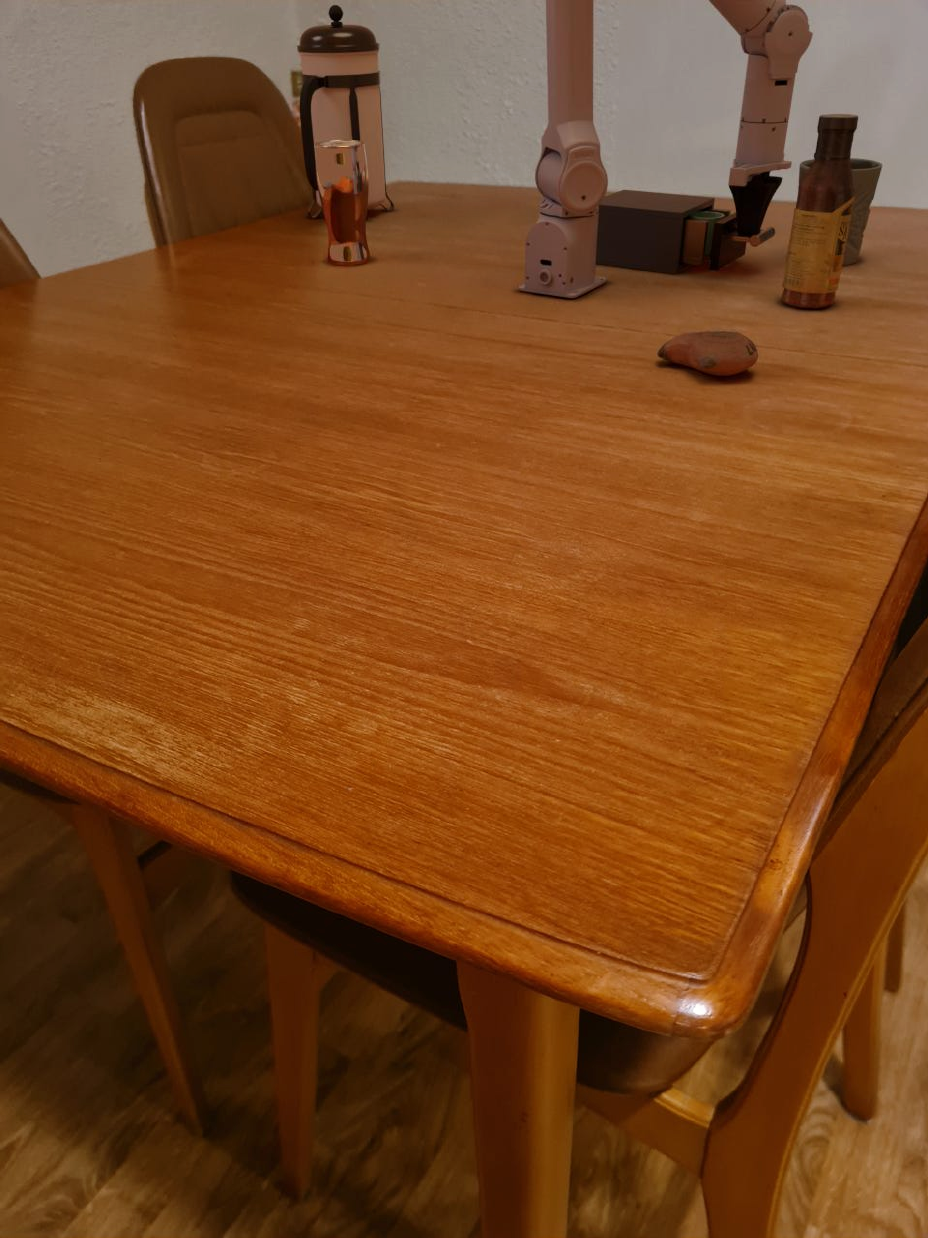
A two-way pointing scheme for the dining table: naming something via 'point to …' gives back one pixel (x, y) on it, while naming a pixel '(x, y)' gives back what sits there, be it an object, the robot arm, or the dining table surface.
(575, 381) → the dining table surface
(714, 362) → the sweet potato
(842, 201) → the sauce bottle
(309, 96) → the coffee press
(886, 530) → the dining table surface
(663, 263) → the dark grey cabinet
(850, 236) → the grey tapered cup
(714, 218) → the jar
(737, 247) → the drawer
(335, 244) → the beer glass
